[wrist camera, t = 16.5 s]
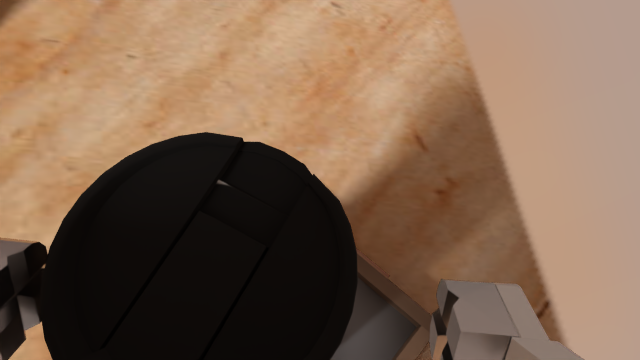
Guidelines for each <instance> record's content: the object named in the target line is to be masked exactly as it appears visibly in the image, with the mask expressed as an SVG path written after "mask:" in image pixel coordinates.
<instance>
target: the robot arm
mask: <svg viewBox="0 0 640 360" xmlns="http://www.w3.org/2000/svg"><path fill="white" fill-rule="evenodd" d="M47 256H48V254H47V250H46V246H44V245H43V244H41V243H40V242H36V241H27V240H18V239H9V238H0V360H8V359H9V358H10V357H11V356H12V355H13V353H14V352H15V351H16V350H17V349H18V348H19V347H20V345H21V344H22V343H23V342H24V341H25V340H26V334H25V330H27V329H29V328H31V327H33V326H35V325H37V324H39V323H40V322H41V321H42V319H41V312H40V299H41V284H42V275H43V271H44V267H45V264H46V260H47ZM436 297H437V301H438V305H439V308H438V309H437V310H436V311H435V312H433V313H432V319H431V324H430V338H429V342H430V352H431V357H432V360H584V359H582V358H581V357H580V356H578V355H577V354H575V353H574V352H573V351H571V350H570V349H568V348H567V347H565V346H564V345H563V344H561V343H560V342H558V341H550V339H549V338H548V336H547V334H546V332H545V330H544V328H543V327H542V325H541V323H540V321H539V319H538V317H537V316H536V314H535V312H534V310H533V308H532V307H531V305H530V303H529V301H528V299H527V297H526V296H525V294H524V292H523V290H522V288H521V287H520V286H519V285H517V284H511V283H494V282H491V283H486V282H473V281H460V280H447V279H441V281H440V283H439V285H438V290H437V294H436Z"/></svg>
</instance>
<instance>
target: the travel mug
mask: <svg viewBox="0 0 640 360" xmlns="http://www.w3.org/2000/svg"><path fill="white" fill-rule="evenodd" d="M357 284H358V271H357V251H356V246H355V242H354V238H353V233H352V229H351V225H350V223H349V221H348V218H347V216H346V214H345V212H344V210H343V207H342V205H341V203H340V201H339V200H338V199H337V198H336V197H335V196H334V195H333V193H332V192H331V191H330V190H329V189H328V188H327V187H326V186H325V185H324V184H323V183H322V182H321V181H320V180H319V179H318V178H317V177H316V176H315V175H314V174H313V175H312V174H311V173H310V171H309V170H308V169H307V167H306V166H305V165H304V164H303V163H301V162H300V161H298V160H296V159H295V158H293V157H292V156H290V155H288V154H287V153H285V152H284V151H281V150H279V149H276V148H274V147H271V146H269V145H266V144H263V143H261V142H244V141H243V138H240V137H234V136H227V135H221V134H215V133H208V132H204V133H197V134H189V135H182V136H177V137H174V138H171V139H167V140H164V141H161V142H158V143H154V144H151V145H149V146H147V147H145V148H143V149H141V150H139V151H137V152H135V153H133V154H131V155H129V156H127V157H125V158H124V159H123V160H121V161H120V162H118V163H117V164H116V165H114V166H113V167H111V168H110V169H109V170H107V171H106V172H104V173H103V174H102V175H101V176H100V177H99V178H98V179H97V180H96V181H95V182H94V183H93V184H92V185H91V186H90V187H89V188H88V189H87V190H86V191H85V192H84V193H82V194H81V196H80V197H79V199H78V200H77V201H76V203H75V204H74V205H73V207H72V208H71V210H70V211H69V212H68V214H67V215H66V216H65V218H64V219H63V221H62V223H61V225H60V227H59V230H58V232H57V234H56V236H55V238H54V240H53V242H52V244H51V246H50V249H49V253H48V256H47V260H46V264H45V268H44V271H43V275H42V284H41V299H40V312H41V319H42V325H43V332H44V339H45V342H46V344H47V347H48V349H49V352H50V354H51V357H52V359H53V360H331V358H332V357H333V355H334V353H335V352H336V350H337V349H338V347H339V345H340V344H341V342H342V339H343V336H344V334H345V331H346V329H347V326H348V323H349V321H350V318H351V315H352V313H353V307H354V302H355V296H356V290H357Z"/></svg>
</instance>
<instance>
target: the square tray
mask: <svg viewBox="0 0 640 360" xmlns="http://www.w3.org/2000/svg"><path fill="white" fill-rule="evenodd" d="M356 251H357V271H358V284H357V290H356V296H355V302H354V307H353V313H352V315H351V318H350V321H349V323H348V326H347V329H346V331H345V334H344V336H343V339H342V342H341V344H340V345H339V347H338V349H337V350H336V352H335V353H334V355H333V357H332V358H331V360H415V359H416V358H417V357H418V355H419V354H420V353H421V351H422V350H423V349H424V347H425V346H426V345H427V343H428V342H429V338H430V324H431V319H432V316H431V315H430V314H429V313H428V312H427V311H425V310H424V309H423V308H422V307H421V306H419V305H418V304H417V303H416V302H415V301H413V300H412V299H411V298H410V297H409V296H407V295H406V294H405V293H404V292H403V291H402V290H400V289H399V288H398V287H397V286H396V285H394V284H393V283H392V282H391V281H390V280H388V277H389V275H388V274H387V273H386V272H385V271H383V270H382V269H381V268H380V267H379V266H377V265H376V264H375V263H374V262H373V261H371V260H370V259H369V258H368V257H367V256H365V255H364V254H363V253H362V252H361V251H359V250H358V249H357V248H356Z"/></svg>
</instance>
